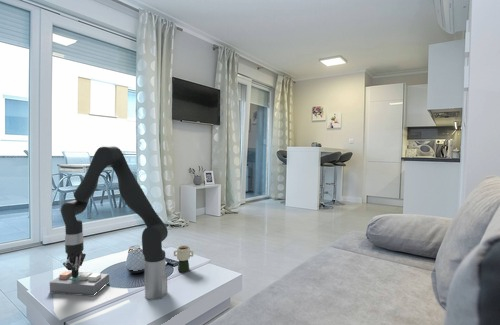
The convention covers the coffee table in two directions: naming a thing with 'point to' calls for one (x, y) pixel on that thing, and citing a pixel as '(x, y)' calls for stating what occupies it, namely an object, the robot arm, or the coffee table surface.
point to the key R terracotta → (65, 275)
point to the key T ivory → (94, 277)
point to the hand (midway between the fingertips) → (75, 276)
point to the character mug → (183, 257)
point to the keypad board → (78, 285)
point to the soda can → (134, 248)
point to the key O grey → (84, 276)
